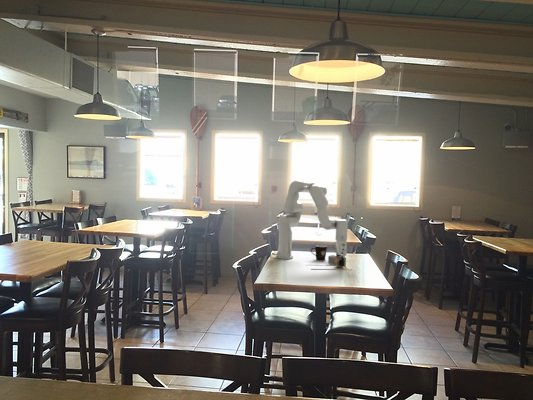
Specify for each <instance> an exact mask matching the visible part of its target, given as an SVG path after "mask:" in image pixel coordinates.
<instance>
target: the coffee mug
mask: <svg viewBox="0 0 533 400" xmlns="http://www.w3.org/2000/svg"><path fill="white" fill-rule="evenodd" d="M327 249H328V245H321V244H316V245H315V246H314V247H313V248H312V247H311V249H310V252H311V254H313V256H315V259H316V261H326V255H327ZM313 250H315V253H314V252H313Z"/></svg>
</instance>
